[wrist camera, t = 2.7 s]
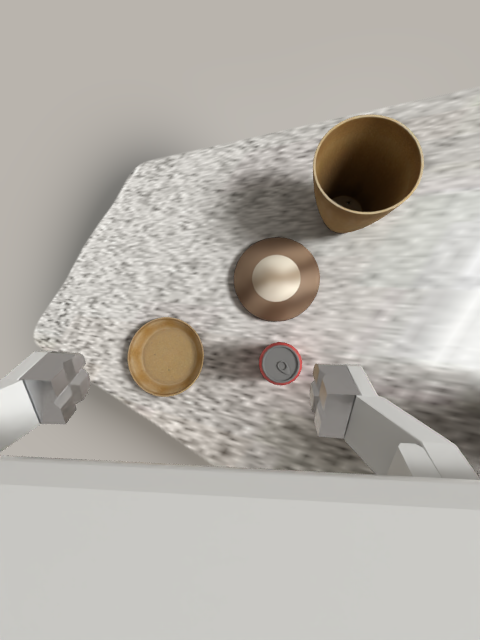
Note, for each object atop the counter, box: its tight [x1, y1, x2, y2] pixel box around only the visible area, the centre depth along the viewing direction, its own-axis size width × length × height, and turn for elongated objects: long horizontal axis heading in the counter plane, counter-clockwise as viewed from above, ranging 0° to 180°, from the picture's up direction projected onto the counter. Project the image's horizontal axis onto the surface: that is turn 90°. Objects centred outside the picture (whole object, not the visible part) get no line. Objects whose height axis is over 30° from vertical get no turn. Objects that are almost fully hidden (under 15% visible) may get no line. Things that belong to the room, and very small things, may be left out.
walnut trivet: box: [234, 237, 320, 321], centre depth 56 cm, size 16×16×2 cm
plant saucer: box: [127, 317, 204, 397], centre depth 56 cm, size 15×15×3 cm
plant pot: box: [313, 115, 424, 233], centre depth 49 cm, size 15×15×16 cm
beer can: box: [259, 342, 302, 385], centre depth 49 cm, size 7×7×12 cm
